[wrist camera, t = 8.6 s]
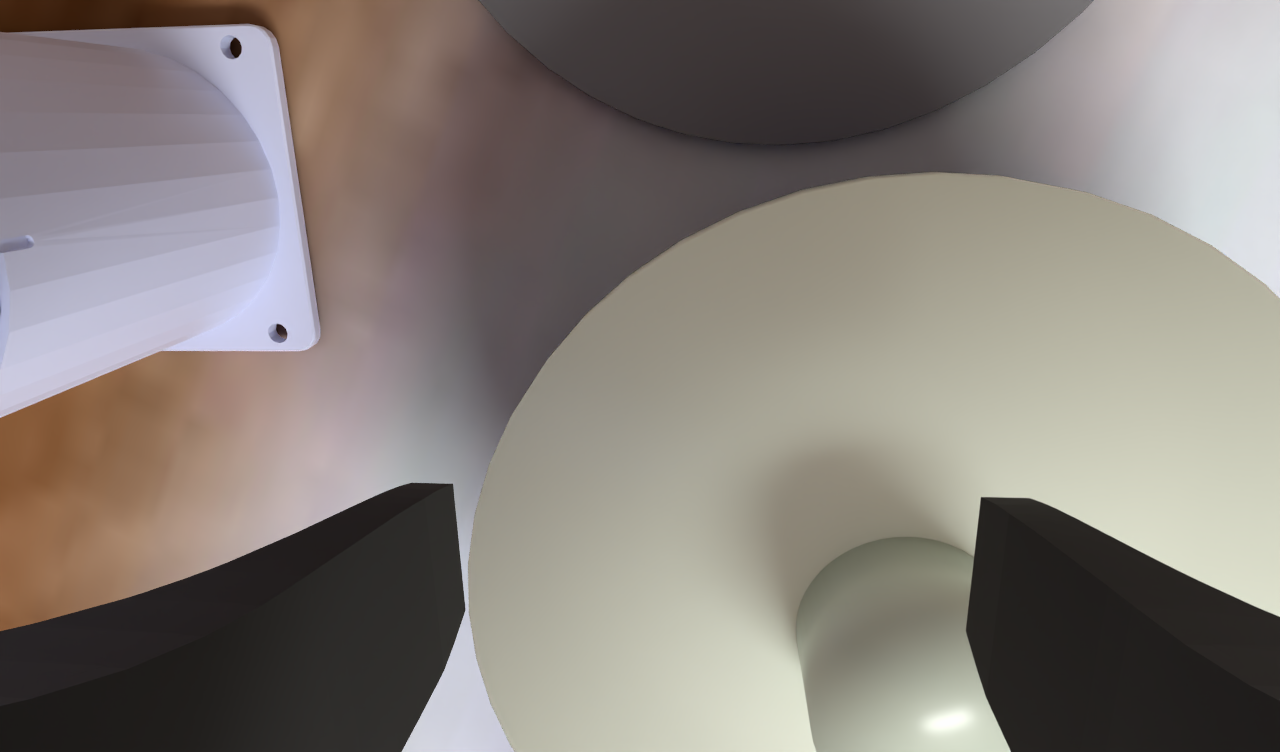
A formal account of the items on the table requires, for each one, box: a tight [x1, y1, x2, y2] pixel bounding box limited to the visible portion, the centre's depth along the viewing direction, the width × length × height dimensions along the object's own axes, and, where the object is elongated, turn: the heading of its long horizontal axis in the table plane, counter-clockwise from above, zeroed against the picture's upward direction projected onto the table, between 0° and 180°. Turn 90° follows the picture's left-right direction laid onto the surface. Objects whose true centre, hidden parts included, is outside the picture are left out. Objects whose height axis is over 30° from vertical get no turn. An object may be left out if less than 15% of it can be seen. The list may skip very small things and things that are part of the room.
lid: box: [468, 172, 1280, 752], centre depth 15 cm, size 17×17×3 cm
